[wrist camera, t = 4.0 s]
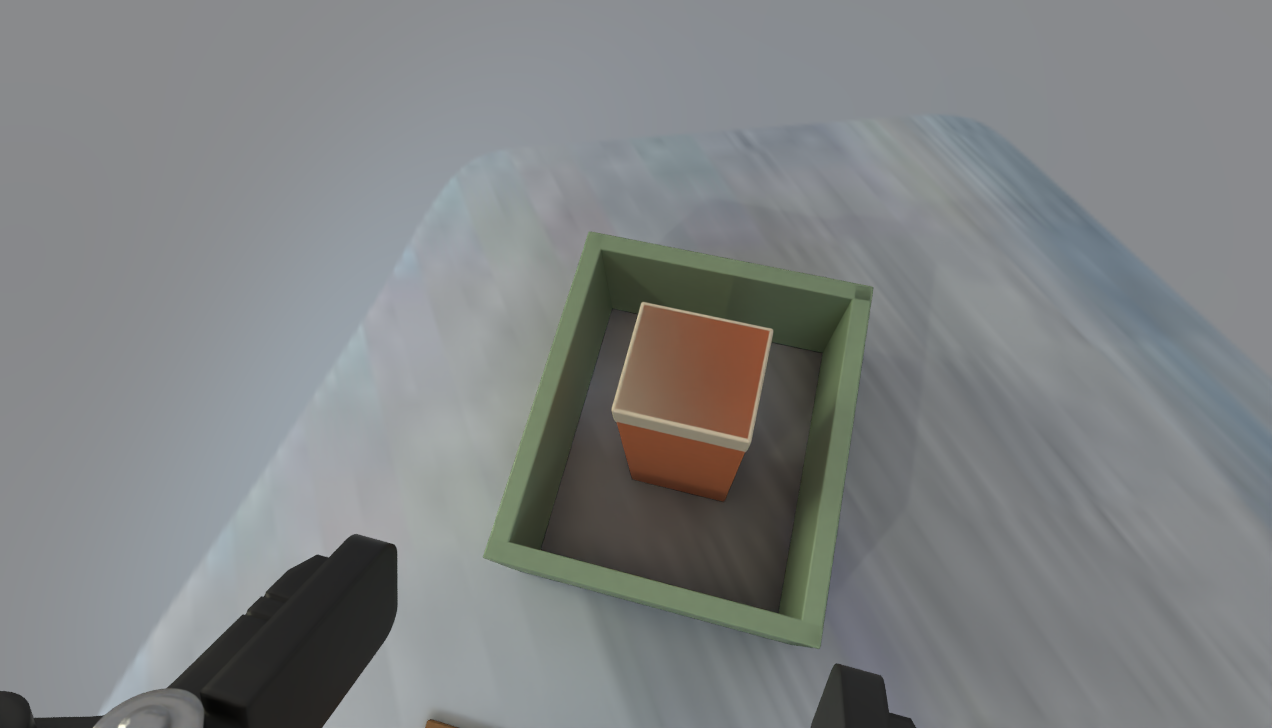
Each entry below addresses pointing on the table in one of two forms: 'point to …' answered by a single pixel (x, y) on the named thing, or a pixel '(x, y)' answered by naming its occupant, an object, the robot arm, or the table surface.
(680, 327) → the tea packet
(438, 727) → the cork mat
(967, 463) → the table surface
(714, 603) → the bin
